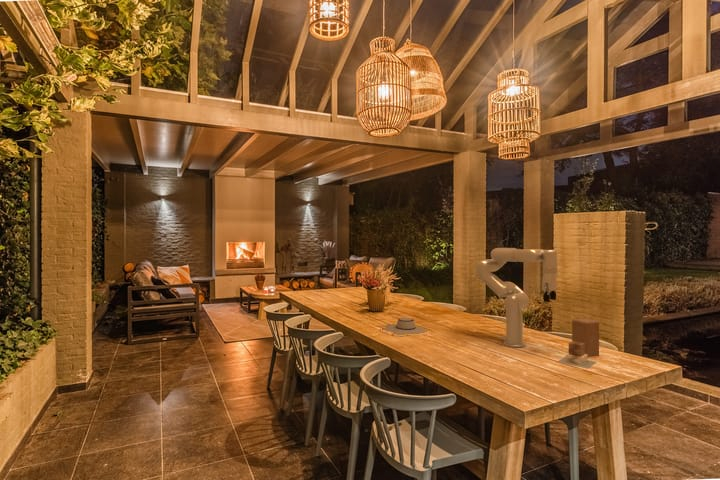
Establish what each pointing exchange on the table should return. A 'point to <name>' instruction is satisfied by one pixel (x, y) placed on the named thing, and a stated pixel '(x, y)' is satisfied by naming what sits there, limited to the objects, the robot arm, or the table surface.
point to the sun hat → (404, 327)
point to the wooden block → (586, 335)
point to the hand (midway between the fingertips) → (549, 300)
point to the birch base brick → (577, 359)
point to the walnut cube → (576, 348)
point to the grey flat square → (586, 365)
